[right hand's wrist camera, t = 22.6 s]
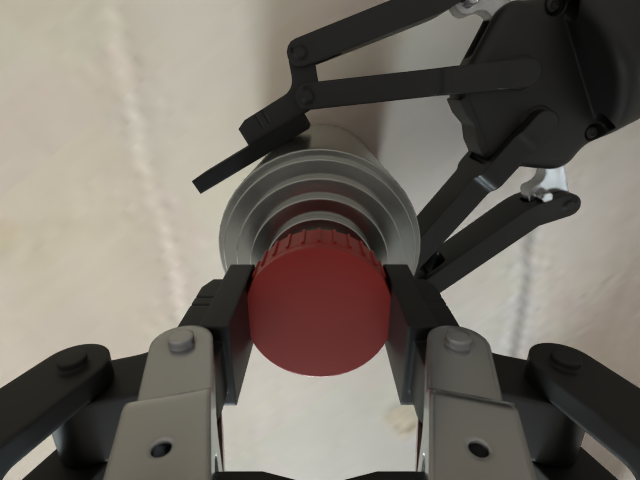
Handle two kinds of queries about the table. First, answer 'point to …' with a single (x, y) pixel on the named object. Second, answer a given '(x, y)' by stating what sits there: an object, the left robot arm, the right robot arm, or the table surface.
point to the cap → (319, 304)
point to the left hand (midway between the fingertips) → (249, 246)
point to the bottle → (320, 200)
